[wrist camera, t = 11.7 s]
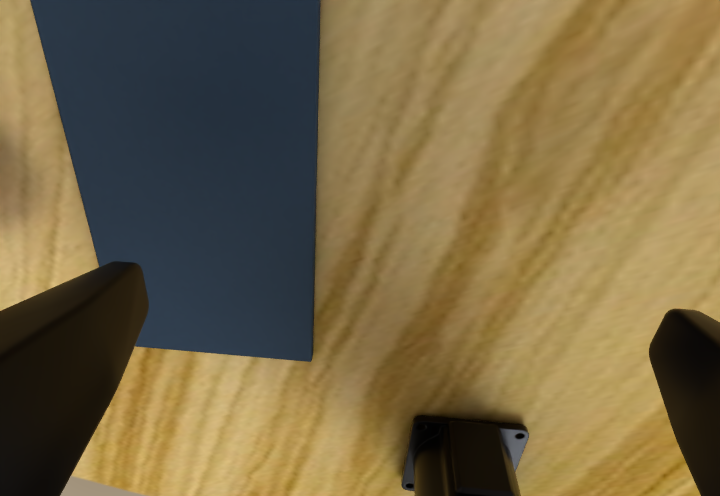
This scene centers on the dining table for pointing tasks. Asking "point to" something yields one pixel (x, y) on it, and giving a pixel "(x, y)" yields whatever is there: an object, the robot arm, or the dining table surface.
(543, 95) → the dining table surface
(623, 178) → the dining table surface
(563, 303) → the dining table surface
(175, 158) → the mat
